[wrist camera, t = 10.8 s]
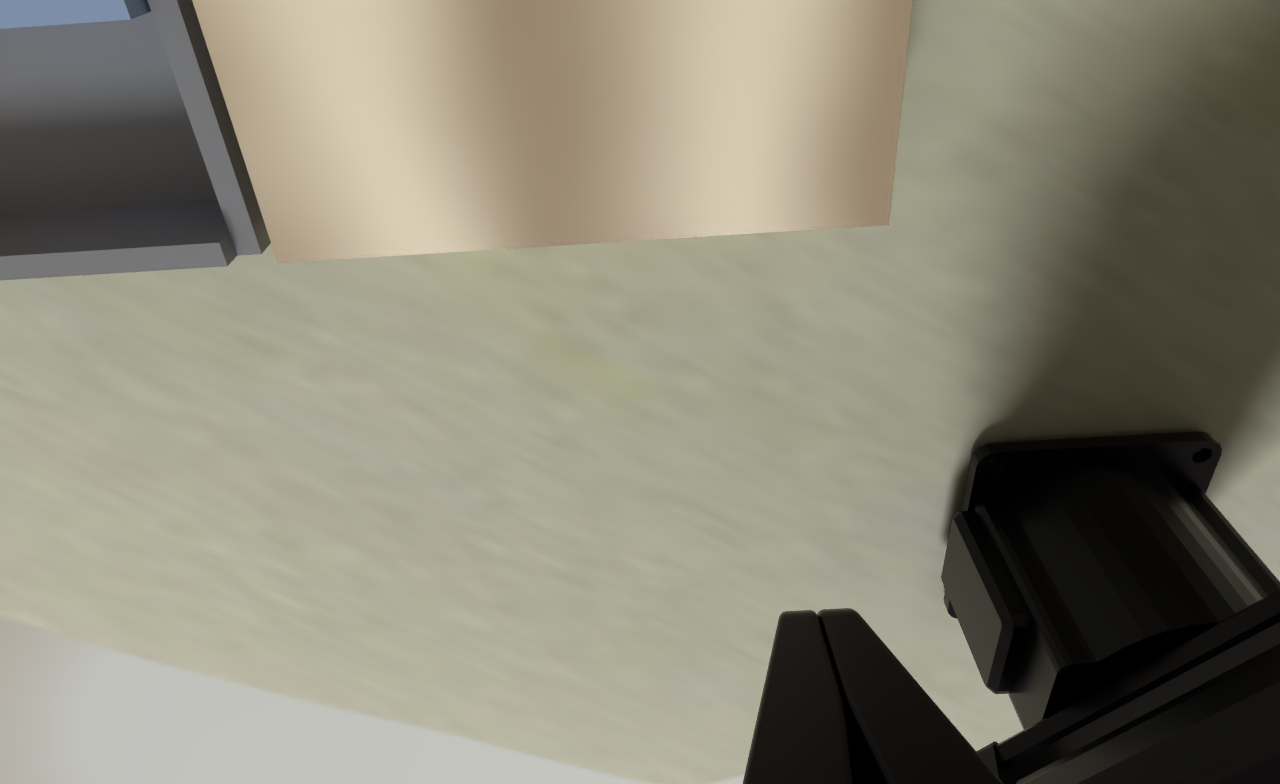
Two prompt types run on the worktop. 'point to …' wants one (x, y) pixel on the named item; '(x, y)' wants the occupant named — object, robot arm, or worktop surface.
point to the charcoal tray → (119, 150)
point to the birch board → (558, 119)
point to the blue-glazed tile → (67, 11)
